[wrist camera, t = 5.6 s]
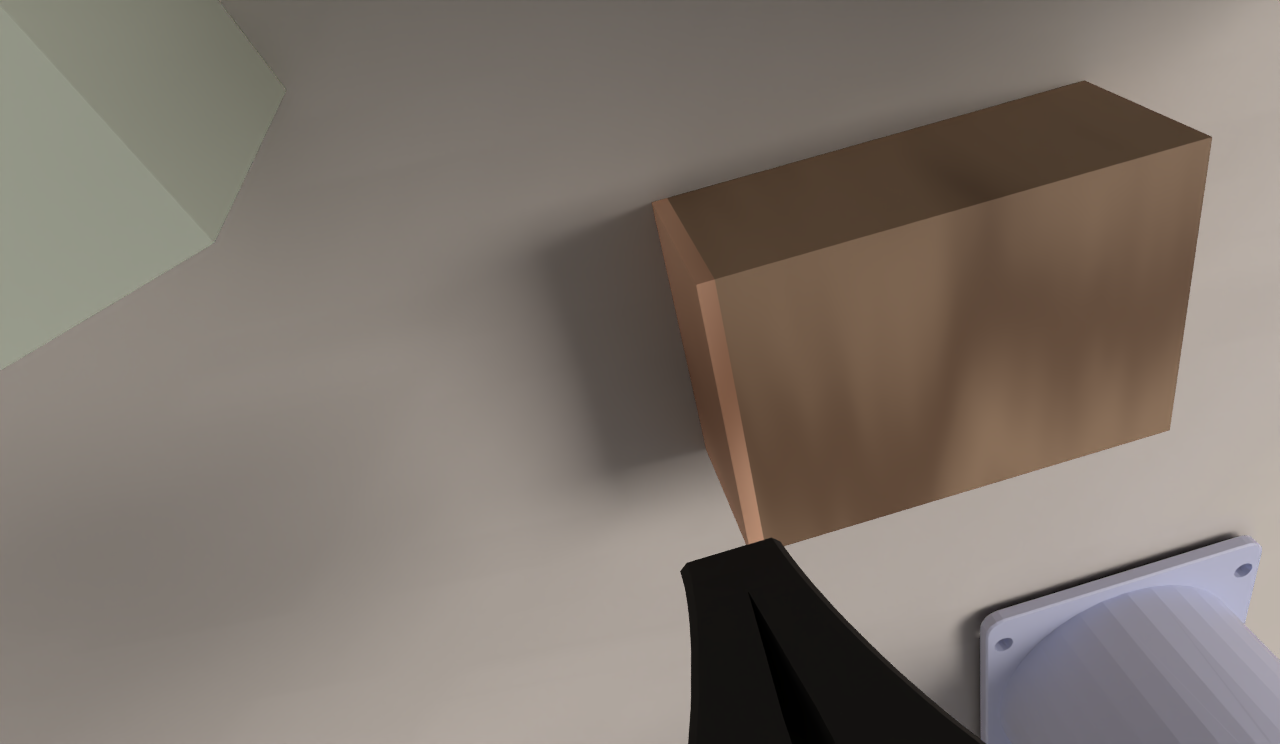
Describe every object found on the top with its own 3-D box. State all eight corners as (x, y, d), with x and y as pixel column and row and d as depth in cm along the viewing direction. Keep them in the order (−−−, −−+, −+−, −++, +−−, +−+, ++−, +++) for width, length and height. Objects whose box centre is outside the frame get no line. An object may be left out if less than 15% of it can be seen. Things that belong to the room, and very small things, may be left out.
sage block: (286, 89, 15) (214, 242, 10) (84, 213, 15) (-85, 420, 10) (92, -167, 13) (-128, -137, 8) (-138, -13, 13) (-490, 109, 8)
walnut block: (705, 447, 20) (1065, 340, 21) (751, 555, 17) (1169, 429, 18) (650, 200, 17) (1081, 79, 17) (695, 284, 14) (1212, 137, 15)
